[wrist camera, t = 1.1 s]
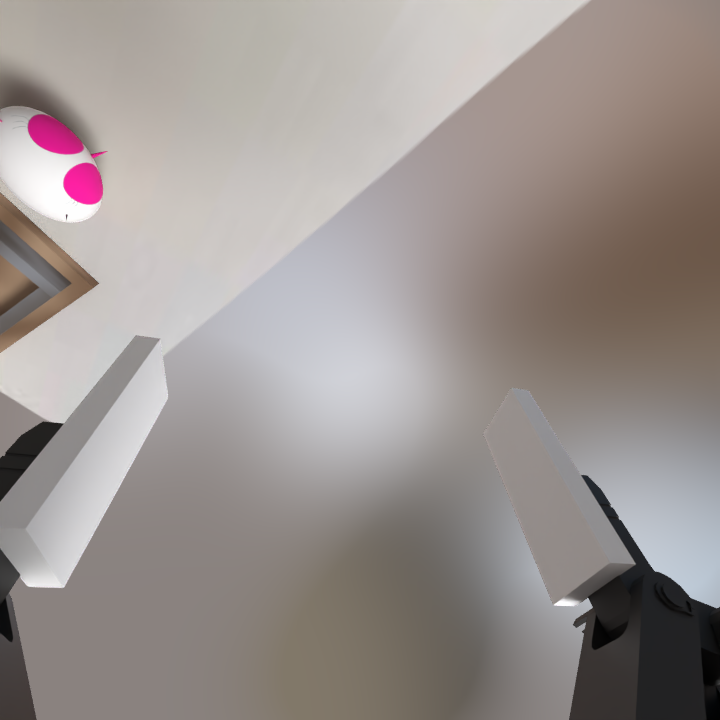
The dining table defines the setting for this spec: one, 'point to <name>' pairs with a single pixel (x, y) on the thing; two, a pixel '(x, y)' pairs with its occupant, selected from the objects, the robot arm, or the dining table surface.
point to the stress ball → (48, 165)
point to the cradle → (33, 276)
